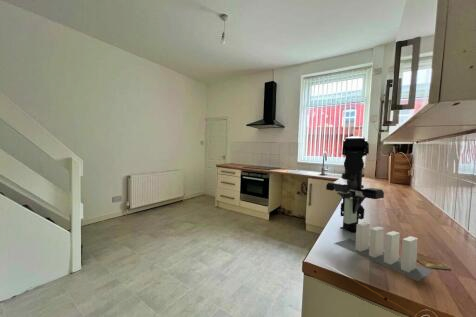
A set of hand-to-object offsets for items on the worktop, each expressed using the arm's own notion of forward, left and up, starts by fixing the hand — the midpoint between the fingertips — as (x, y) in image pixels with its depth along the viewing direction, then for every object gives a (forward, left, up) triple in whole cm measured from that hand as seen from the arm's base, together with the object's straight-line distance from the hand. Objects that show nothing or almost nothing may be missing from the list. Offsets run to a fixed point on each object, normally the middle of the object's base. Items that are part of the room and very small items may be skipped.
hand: (351, 212), depth 75 cm
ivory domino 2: (0, +9, -12) cm, 15 cm away
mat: (0, +10, -12) cm, 16 cm away
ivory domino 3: (0, +14, -12) cm, 18 cm away
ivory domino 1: (0, +5, -12) cm, 13 cm away
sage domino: (+1, 0, -4) cm, 4 cm away
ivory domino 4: (0, +18, -12) cm, 22 cm away
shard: (-10, +18, -13) cm, 24 cm away
